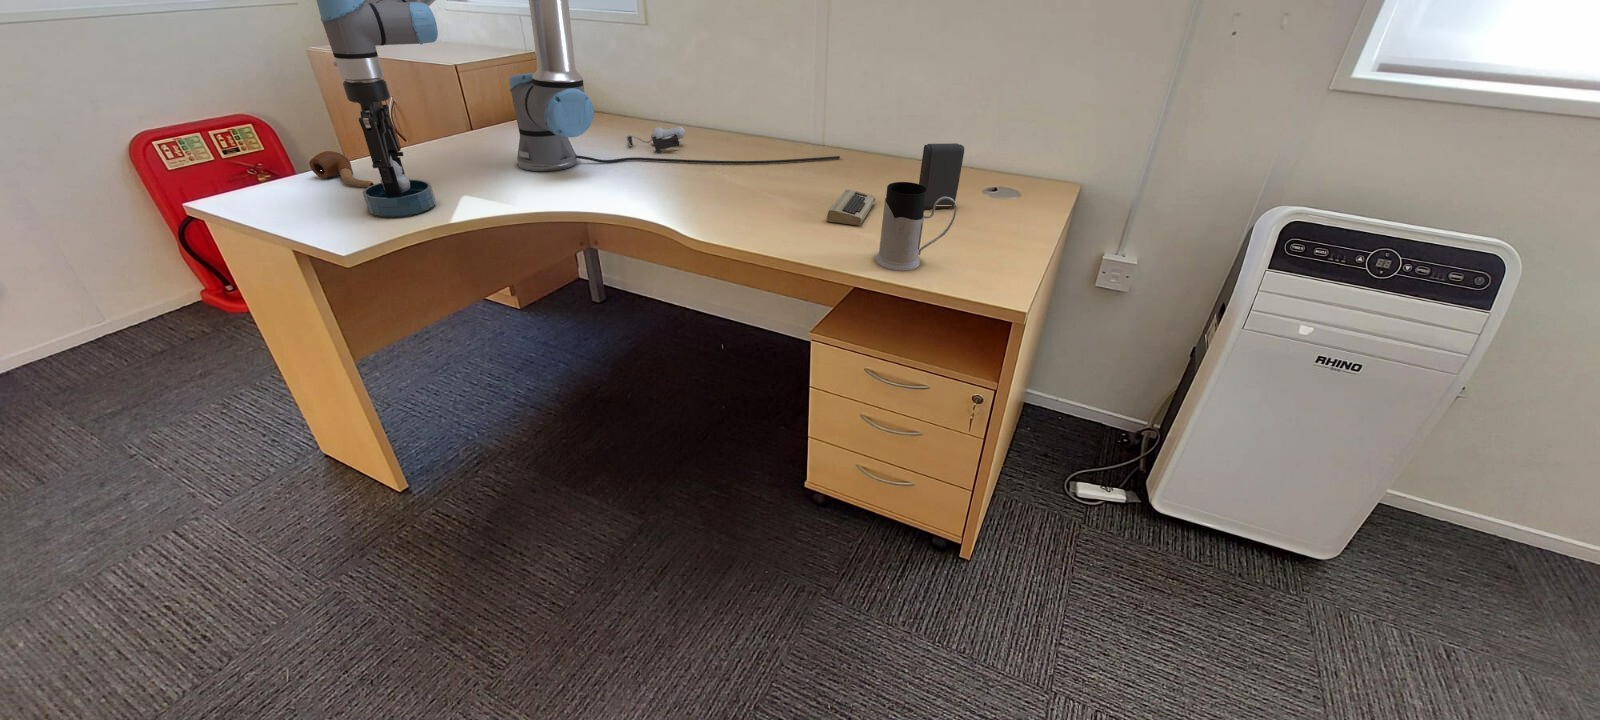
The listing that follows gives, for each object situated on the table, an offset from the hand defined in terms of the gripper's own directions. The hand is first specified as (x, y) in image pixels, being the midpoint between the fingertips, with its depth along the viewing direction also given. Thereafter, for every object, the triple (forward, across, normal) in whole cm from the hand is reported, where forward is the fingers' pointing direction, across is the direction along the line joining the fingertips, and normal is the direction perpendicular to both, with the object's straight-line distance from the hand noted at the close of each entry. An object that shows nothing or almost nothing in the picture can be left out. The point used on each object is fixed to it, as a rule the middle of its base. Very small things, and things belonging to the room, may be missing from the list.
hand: (398, 191), depth 142 cm
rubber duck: (0, 0, 0) cm, 0 cm away
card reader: (+4, +23, +121) cm, 123 cm away
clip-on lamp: (+4, -42, +60) cm, 73 cm away
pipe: (+4, -24, -16) cm, 29 cm away
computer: (+4, +23, +99) cm, 102 cm away
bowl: (+4, 0, 0) cm, 4 cm away
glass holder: (+4, +52, +101) cm, 114 cm away
